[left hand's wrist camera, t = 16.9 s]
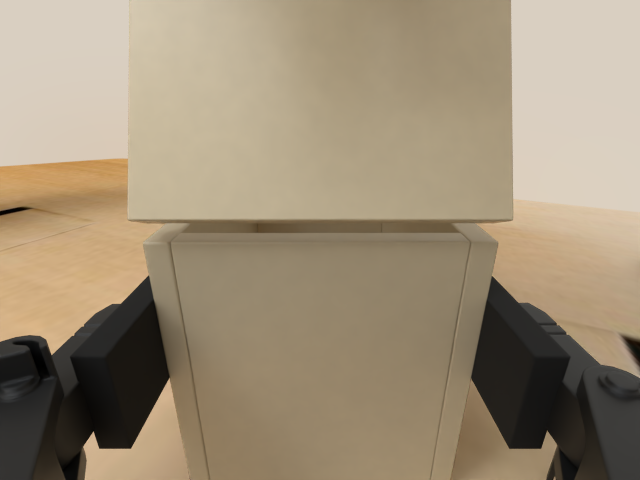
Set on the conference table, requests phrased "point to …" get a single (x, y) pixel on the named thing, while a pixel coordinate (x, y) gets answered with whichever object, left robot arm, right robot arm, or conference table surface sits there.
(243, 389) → the chest
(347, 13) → the lid
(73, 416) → the left robot arm
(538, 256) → the conference table surface
